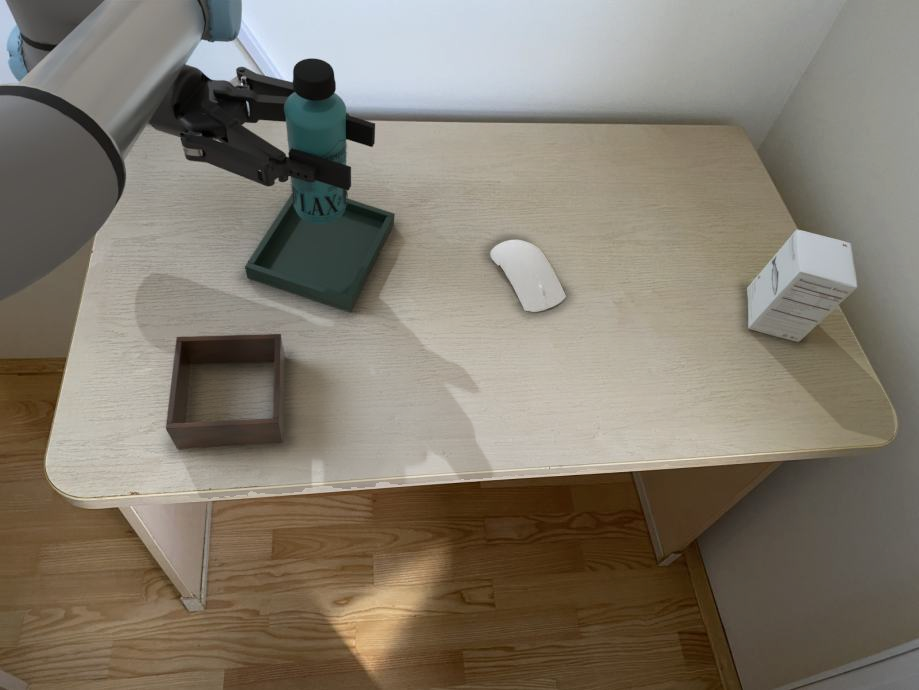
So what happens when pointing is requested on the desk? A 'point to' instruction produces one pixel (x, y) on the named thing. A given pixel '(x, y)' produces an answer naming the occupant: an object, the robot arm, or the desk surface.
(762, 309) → the white packaging box
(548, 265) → the computer mouse
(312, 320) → the desk surface
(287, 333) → the desk surface
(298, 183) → the beverage bottle
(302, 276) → the tray
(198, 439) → the crate
